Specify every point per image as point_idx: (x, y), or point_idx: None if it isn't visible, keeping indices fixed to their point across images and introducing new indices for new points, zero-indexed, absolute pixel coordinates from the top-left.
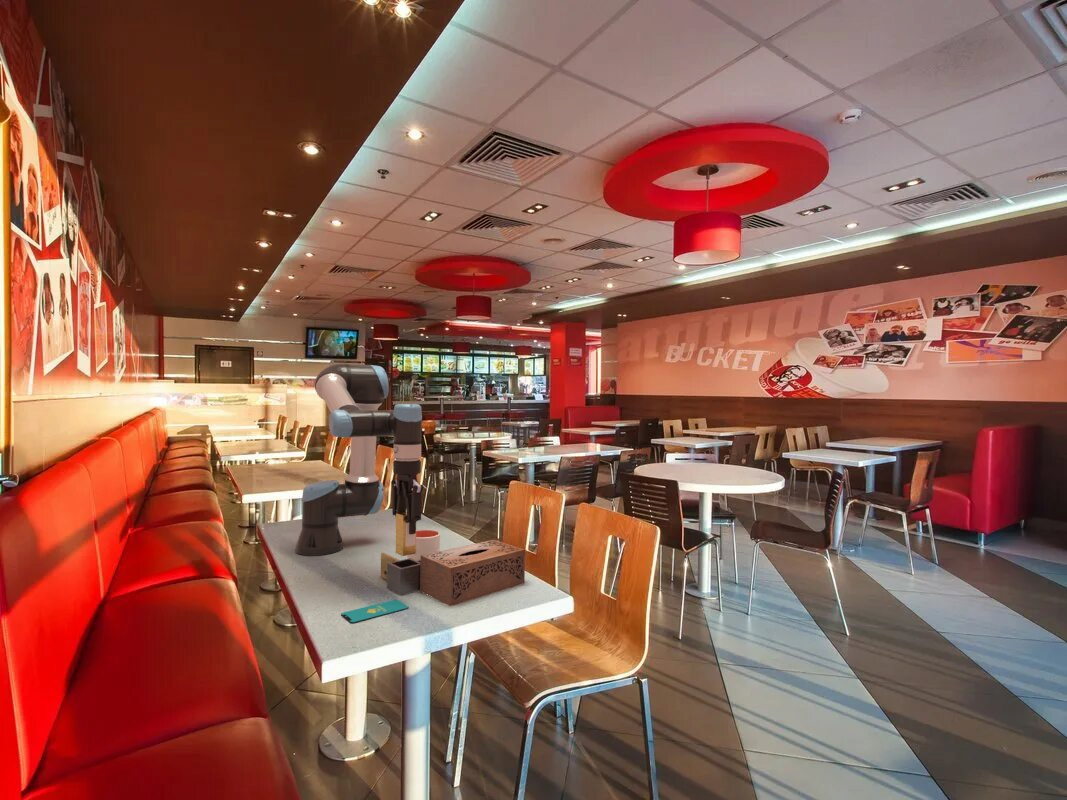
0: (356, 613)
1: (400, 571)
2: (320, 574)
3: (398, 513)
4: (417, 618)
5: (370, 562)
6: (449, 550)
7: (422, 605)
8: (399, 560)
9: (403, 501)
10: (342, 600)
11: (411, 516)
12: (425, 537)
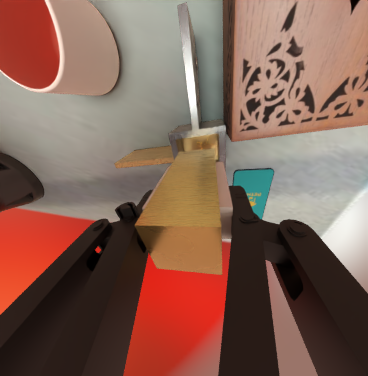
0: None
1: None
2: (109, 201)
3: (163, 265)
4: (313, 173)
5: (69, 143)
6: (251, 10)
7: (280, 149)
8: (174, 159)
9: (117, 329)
10: None
11: (281, 274)
12: (58, 39)
